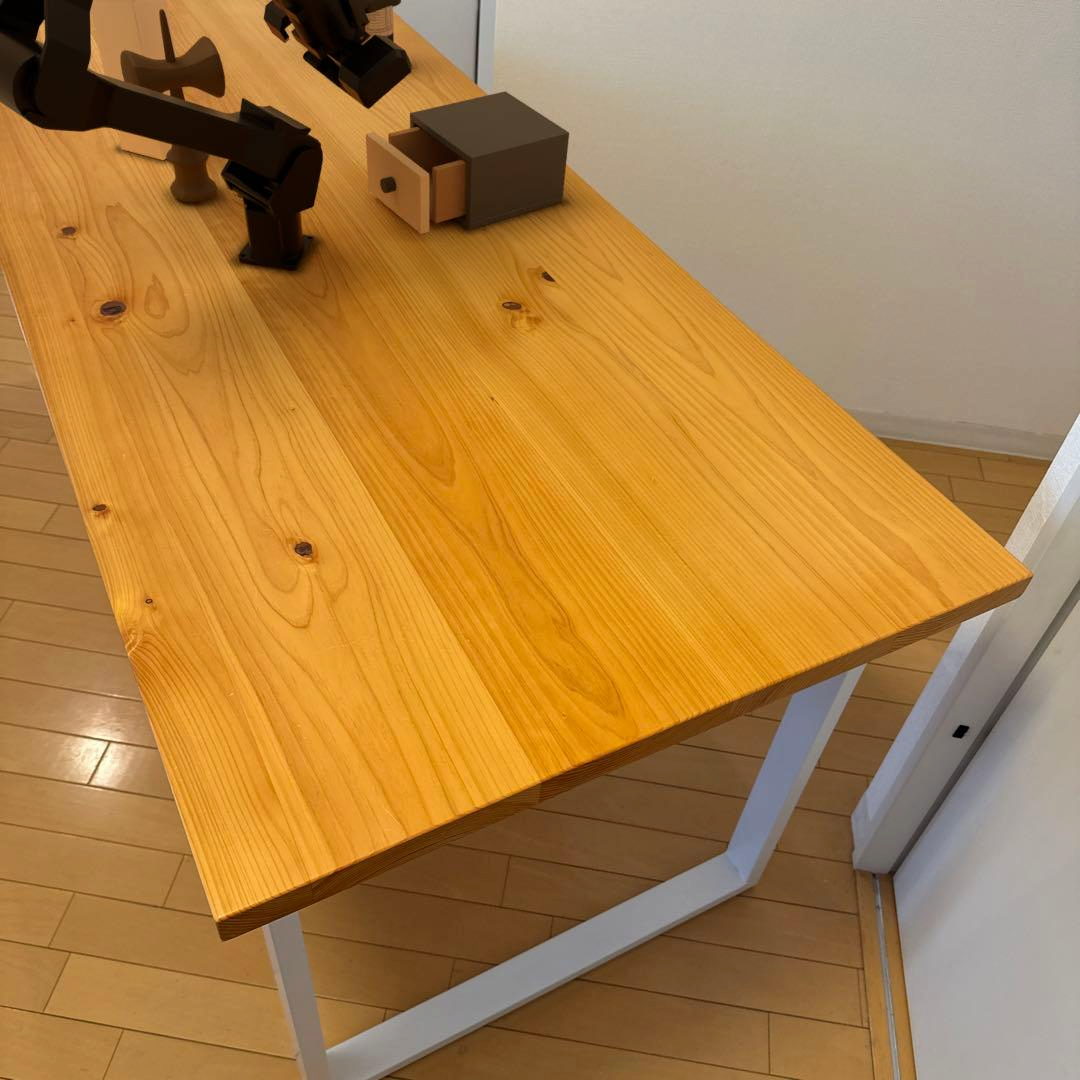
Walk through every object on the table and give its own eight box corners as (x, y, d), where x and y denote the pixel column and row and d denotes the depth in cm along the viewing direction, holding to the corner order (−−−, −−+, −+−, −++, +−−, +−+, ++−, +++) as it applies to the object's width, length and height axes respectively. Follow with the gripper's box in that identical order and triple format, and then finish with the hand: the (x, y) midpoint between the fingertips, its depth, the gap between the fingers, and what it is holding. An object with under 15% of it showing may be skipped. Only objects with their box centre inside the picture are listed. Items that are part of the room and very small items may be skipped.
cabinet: (469, 230, 115) (471, 158, 109) (410, 183, 122) (409, 112, 116) (562, 202, 121) (569, 132, 115) (501, 159, 128) (505, 91, 122)
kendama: (245, 197, 116) (219, 13, 102) (162, 215, 112) (123, 25, 98) (225, 175, 119) (197, -7, 105) (144, 191, 115) (103, 4, 101)
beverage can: (397, 60, 147) (395, -30, 138) (389, 75, 143) (387, -16, 134) (359, 55, 147) (355, -35, 138) (350, 70, 143) (345, -22, 134)
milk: (163, 161, 121) (123, -42, 105) (120, 149, 122) (74, -53, 106) (192, 141, 125) (158, -57, 109) (150, 130, 126) (110, -68, 110)
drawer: (411, 237, 111) (410, 178, 107) (359, 192, 117) (356, 135, 112) (511, 207, 118) (514, 151, 113) (456, 167, 124) (458, 112, 119)
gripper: (422, -42, 90) (478, 93, 103) (312, -112, 98) (378, 21, 112) (329, 38, 89) (397, 164, 103) (226, -40, 97) (303, 86, 111)
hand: (370, 104), depth 107 cm, fingers closed
